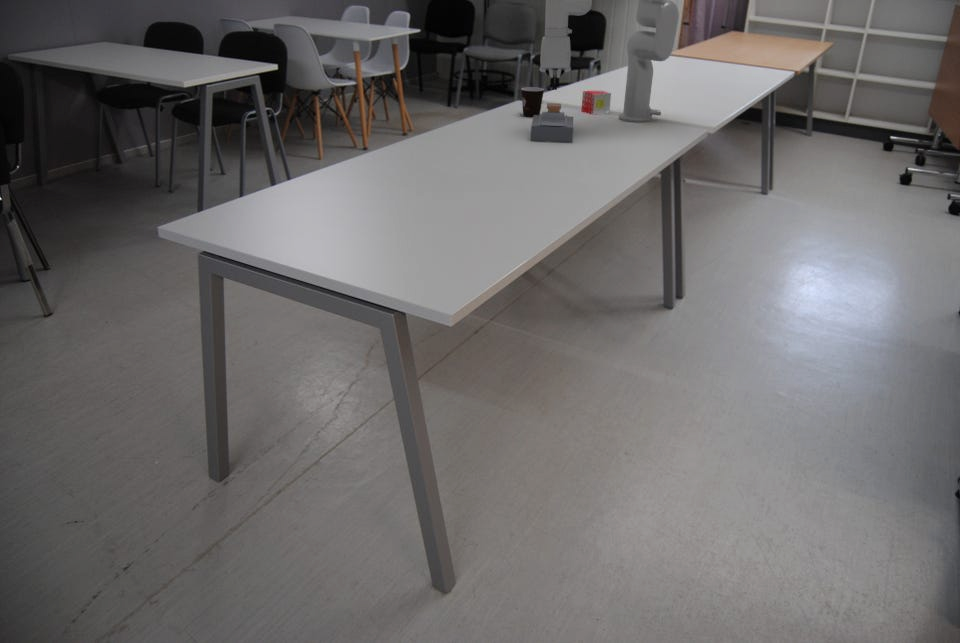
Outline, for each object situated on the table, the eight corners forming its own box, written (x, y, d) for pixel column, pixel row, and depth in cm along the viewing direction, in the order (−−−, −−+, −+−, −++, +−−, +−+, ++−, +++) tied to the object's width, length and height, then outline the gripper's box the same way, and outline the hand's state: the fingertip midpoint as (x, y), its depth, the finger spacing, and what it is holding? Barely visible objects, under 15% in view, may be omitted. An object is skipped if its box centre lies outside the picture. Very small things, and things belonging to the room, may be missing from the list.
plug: (559, 135, 258) (561, 106, 253) (545, 135, 258) (547, 105, 254) (559, 132, 262) (560, 103, 258) (545, 132, 262) (547, 103, 258)
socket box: (572, 130, 265) (573, 115, 262) (572, 142, 249) (573, 126, 246) (533, 129, 266) (533, 113, 264) (530, 140, 250) (531, 124, 248)
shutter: (564, 121, 254) (564, 112, 252) (563, 126, 247) (564, 116, 246) (541, 120, 254) (542, 111, 253) (540, 125, 248) (541, 116, 246)
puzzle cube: (593, 115, 290) (594, 94, 287) (581, 111, 296) (582, 91, 293) (609, 113, 294) (611, 93, 290) (597, 110, 300) (599, 89, 296)
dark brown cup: (543, 118, 283) (544, 91, 279) (520, 117, 283) (521, 90, 279) (541, 112, 294) (542, 86, 289) (519, 111, 294) (520, 85, 289)
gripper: (578, 31, 250) (576, 87, 259) (534, 31, 252) (533, 87, 260) (578, 34, 244) (576, 91, 252) (533, 34, 245) (532, 91, 254)
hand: (554, 89), depth 256 cm, fingers closed
